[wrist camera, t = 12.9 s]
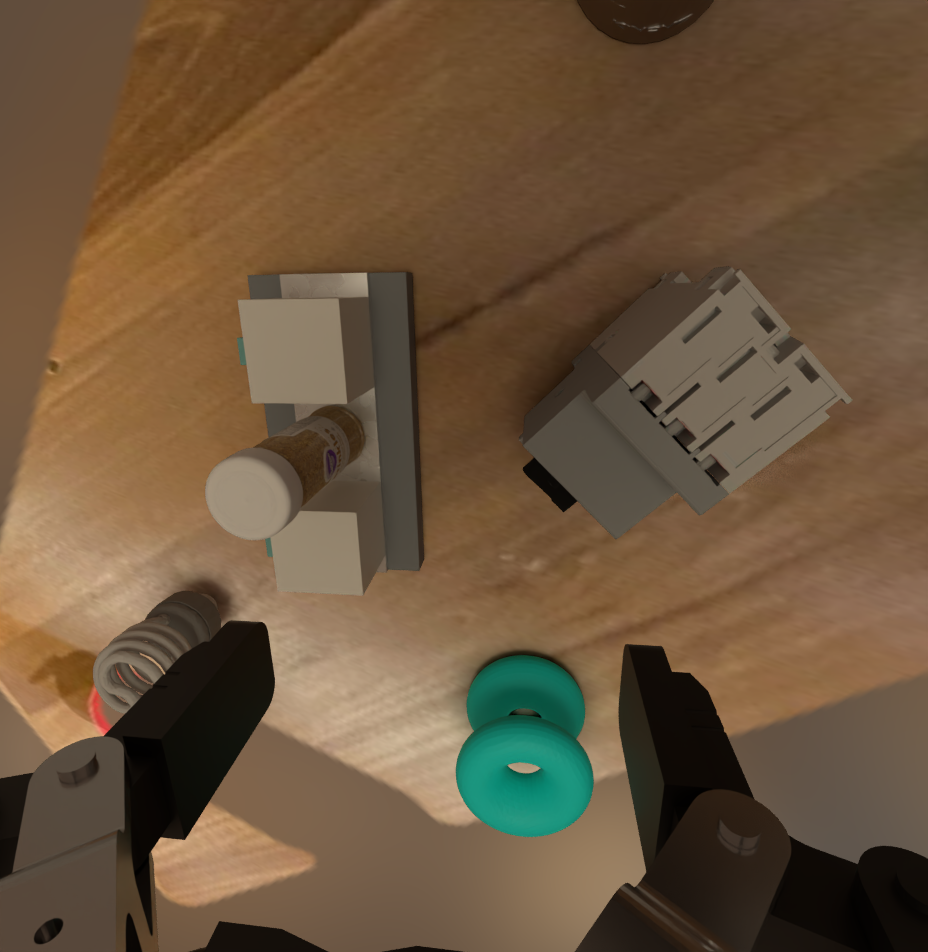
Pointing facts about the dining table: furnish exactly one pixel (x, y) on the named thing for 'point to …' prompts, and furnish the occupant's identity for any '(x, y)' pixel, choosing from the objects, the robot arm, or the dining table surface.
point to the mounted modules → (318, 382)
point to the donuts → (525, 748)
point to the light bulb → (154, 646)
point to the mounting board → (383, 409)
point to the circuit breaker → (676, 402)
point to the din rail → (364, 405)
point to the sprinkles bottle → (282, 473)
